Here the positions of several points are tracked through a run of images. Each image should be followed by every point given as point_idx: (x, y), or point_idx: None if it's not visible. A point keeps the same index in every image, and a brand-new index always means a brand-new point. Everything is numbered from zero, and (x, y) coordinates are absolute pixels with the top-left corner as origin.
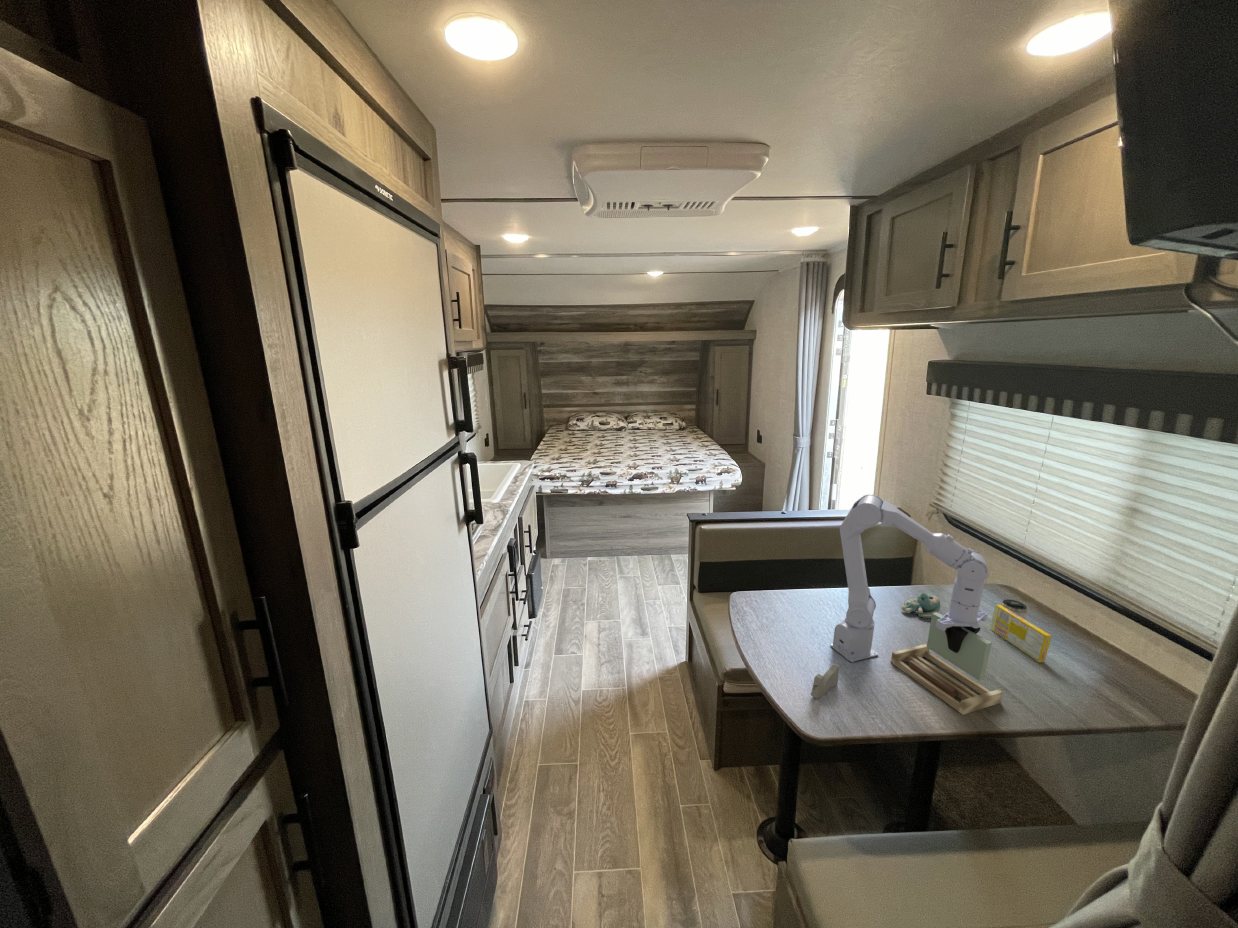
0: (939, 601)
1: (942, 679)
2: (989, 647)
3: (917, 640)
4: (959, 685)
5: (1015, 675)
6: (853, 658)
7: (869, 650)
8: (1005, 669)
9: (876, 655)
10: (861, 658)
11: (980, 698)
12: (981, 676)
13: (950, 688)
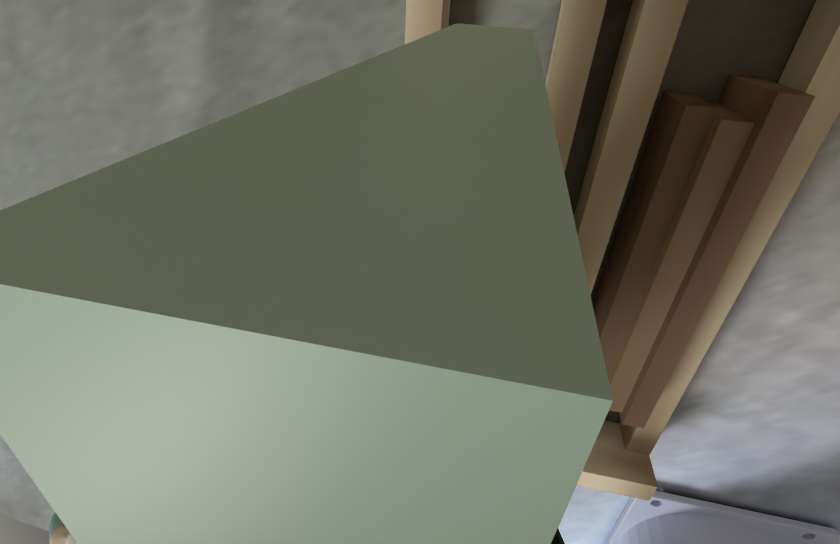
0: (55, 521)
1: (602, 240)
2: (297, 134)
3: None
4: (566, 144)
5: (49, 63)
6: (804, 536)
7: (705, 541)
8: (72, 129)
9: (657, 492)
10: (768, 520)
11: None
12: (511, 30)
13: (777, 133)
